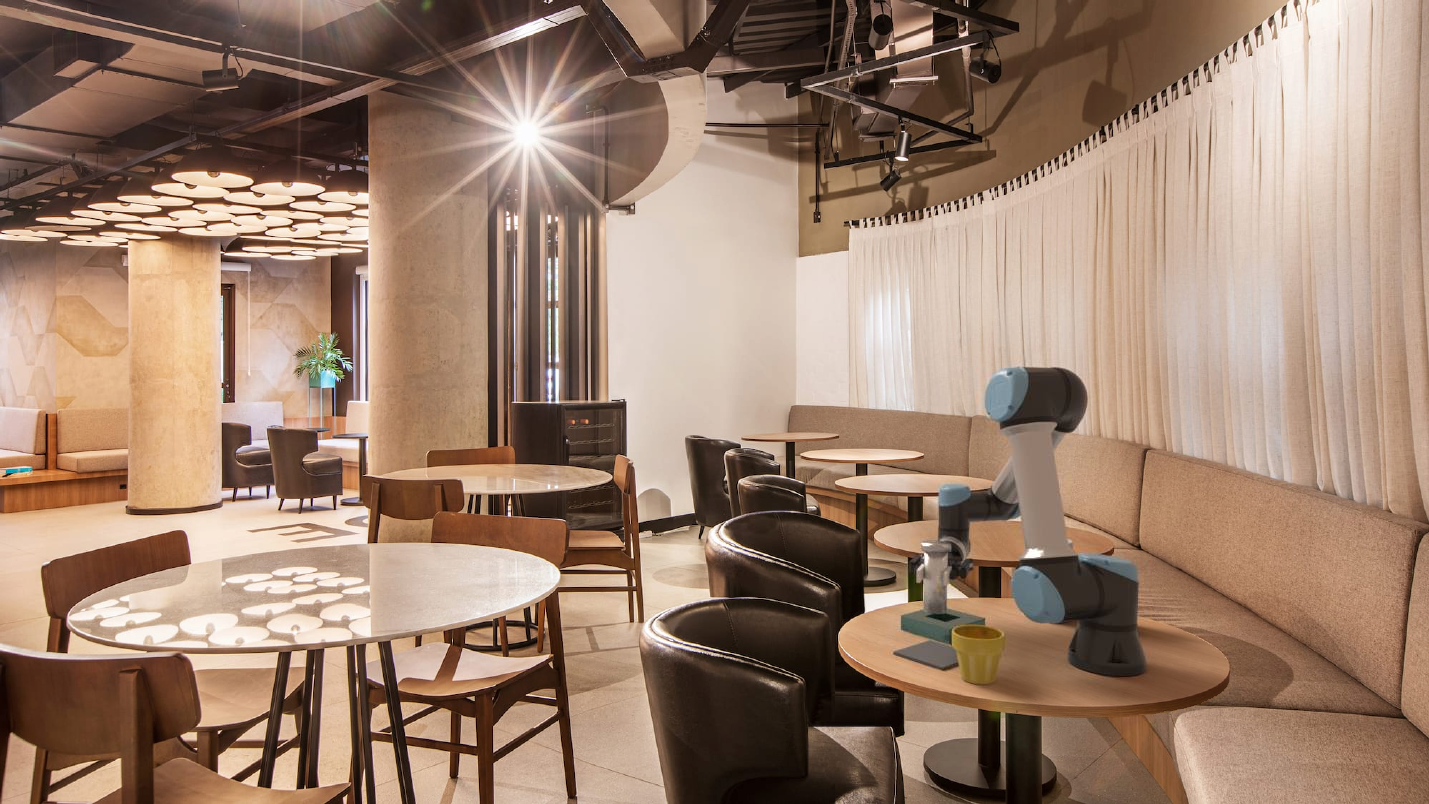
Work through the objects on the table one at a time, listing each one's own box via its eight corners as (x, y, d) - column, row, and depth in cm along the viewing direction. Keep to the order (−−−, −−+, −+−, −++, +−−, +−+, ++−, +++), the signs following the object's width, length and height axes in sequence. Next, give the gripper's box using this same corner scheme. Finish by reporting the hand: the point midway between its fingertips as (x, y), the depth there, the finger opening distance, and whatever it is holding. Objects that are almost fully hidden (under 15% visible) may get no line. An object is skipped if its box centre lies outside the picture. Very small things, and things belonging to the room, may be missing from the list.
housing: (985, 632, 204) (985, 618, 204) (949, 644, 195) (949, 629, 195) (936, 619, 215) (936, 605, 215) (900, 629, 206) (900, 615, 206)
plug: (956, 611, 187) (957, 543, 186) (938, 616, 183) (939, 547, 182) (932, 605, 192) (933, 538, 191) (914, 610, 188) (915, 542, 187)
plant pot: (946, 682, 171) (946, 634, 171) (957, 667, 180) (957, 621, 180) (999, 692, 166) (1000, 642, 166) (1008, 675, 175) (1009, 628, 175)
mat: (978, 657, 186) (978, 654, 186) (942, 670, 178) (942, 667, 178) (930, 642, 196) (930, 640, 196) (893, 654, 188) (893, 651, 188)
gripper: (986, 575, 200) (975, 600, 179) (909, 567, 207) (889, 590, 186) (987, 543, 200) (975, 564, 178) (909, 537, 207) (889, 556, 186)
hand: (931, 578), depth 182 cm, fingers closed on plug, 5 cm apart
